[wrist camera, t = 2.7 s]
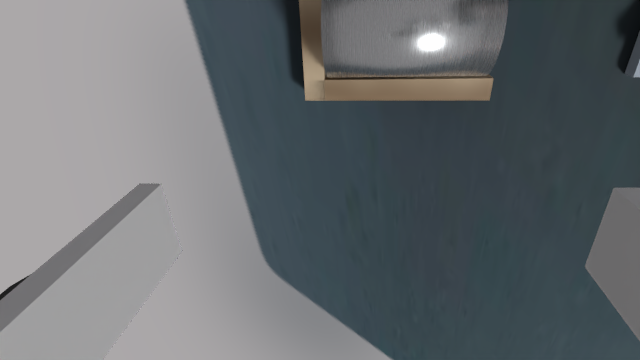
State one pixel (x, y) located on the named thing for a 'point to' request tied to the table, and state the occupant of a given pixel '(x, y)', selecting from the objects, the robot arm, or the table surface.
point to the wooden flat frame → (375, 87)
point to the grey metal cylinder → (411, 37)
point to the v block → (634, 60)
